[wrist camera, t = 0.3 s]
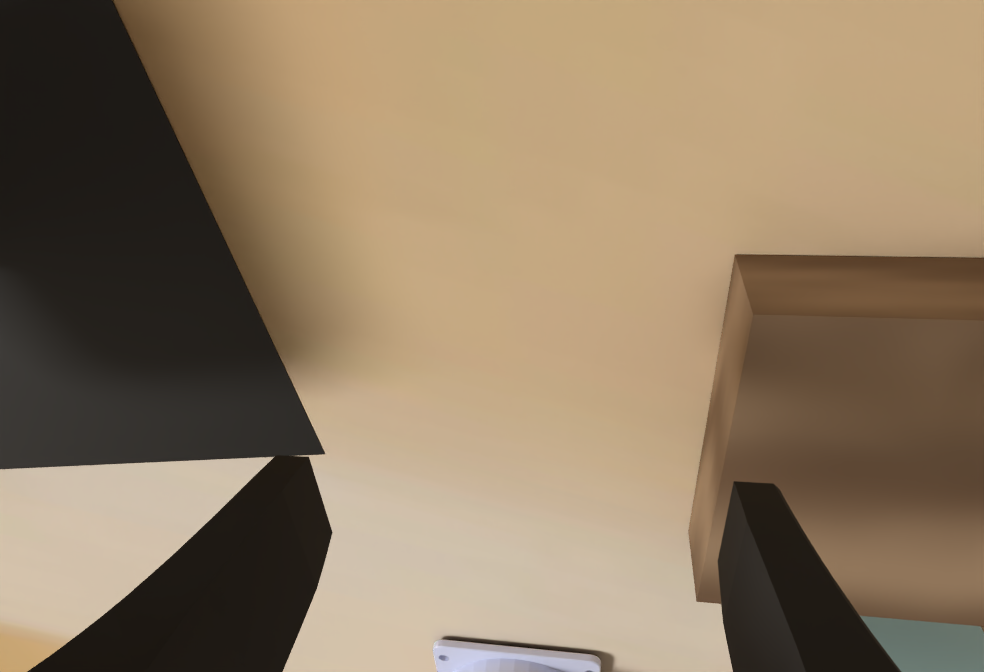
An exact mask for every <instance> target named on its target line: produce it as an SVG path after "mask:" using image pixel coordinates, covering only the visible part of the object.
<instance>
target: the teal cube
mask: <svg viewBox="0 0 984 672" xmlns="http://www.w3.org/2000/svg"><path fill="white" fill-rule="evenodd" d="M860 617H861V618H862V620H863V621H864V623H865V624H866V625H867V627H868V628H869V629H870V631H871V632H872V634H873V635H874V636H875V638H876V639H877V640H878V642H879V643H880V644H881V646H882V647H883V648H884V650H885V651H886V652H887V654H888V655H889V656H890V658H891V659H892V660H893V661H894V663H895V664H896V665H897V667H898V668H899V669H900V671H901V672H984V632H983V630H982V628H981V626H971V625H959V624H948V623H937V622H925V621H914V620H902V619H891V618H879V617H868V616H860Z"/></svg>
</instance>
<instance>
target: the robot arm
mask: <svg viewBox="0 0 984 672" xmlns="http://www.w3.org/2000/svg"><path fill="white" fill-rule="evenodd" d="M331 535H332V530H331V527H330V524H329V520H328V517H327V514H326V511H325V508H324V504H323V501H322V498H321V495H320V492H319V488H318V485H317V482H316V479H315V476H314V472H313V469H312V466H311V463H310V460H309V457H299V456H281V455H276V456H275V457H274V458H273V459H272V460H271V461H270V462H269V463H268V464H267V465H266V466H265V467H264V468H263V469H262V470H260V471H259V472H258V473H257V474H256V475H255V476H254V477H253V478H252V479H251V480H250V481H249V482H248V483H247V484H246V485H245V486H244V487H243V488H242V489H241V490H240V491H239V492H238V493H237V494H236V495H235V496H234V497H233V498H232V499H231V500H230V501H229V502H228V503H227V504H226V505H225V506H224V507H223V508H222V509H221V510H220V511H219V512H218V513H217V514H216V515H215V516H214V517H213V518H212V519H211V520H209V521H208V522H207V523H206V524H205V525H204V526H203V527H202V528H201V529H200V530H199V531H198V532H197V533H196V534H195V535H194V536H193V537H192V538H191V539H189V540H188V541H187V542H186V543H185V544H184V545H183V546H182V547H181V548H180V549H179V550H178V551H177V552H176V553H175V554H174V555H172V556H171V557H170V558H169V559H168V560H167V561H166V562H165V563H164V564H162V565H161V566H160V567H159V568H158V569H157V570H156V571H154V572H153V573H152V574H151V575H150V576H149V577H148V578H147V579H145V580H144V581H143V582H142V583H141V584H140V585H139V586H137V587H136V588H135V589H134V590H133V591H132V592H131V593H130V594H128V595H127V596H126V597H125V598H124V599H122V600H121V601H120V602H119V603H118V604H116V605H115V606H114V607H113V608H112V609H110V610H109V611H108V612H107V613H105V614H104V615H103V616H102V617H100V618H99V619H98V620H97V621H95V622H94V623H93V624H92V625H90V626H89V627H88V628H86V629H85V630H84V631H82V632H81V633H80V634H79V635H77V636H76V637H75V638H73V639H72V640H71V641H69V642H68V643H67V644H66V645H64V646H63V647H62V648H60V649H59V650H57V651H56V652H55V653H53V654H52V655H51V656H49V657H48V658H46V659H45V660H43V661H42V662H41V663H39V664H38V665H36V666H35V667H33V668H32V669H31V670H29V671H28V672H282V671H283V669H284V667H285V664H286V662H287V660H288V657H289V655H290V652H291V650H292V648H293V645H294V643H295V640H296V638H297V636H298V633H299V631H300V628H301V626H302V624H303V621H304V619H305V616H306V614H307V611H308V609H309V606H310V604H311V602H312V599H313V596H314V594H315V591H316V589H317V586H318V583H319V579H320V576H321V572H322V569H323V565H324V562H325V558H326V554H327V551H328V547H329V543H330V539H331ZM718 572H719V583H720V595H721V605H722V615H723V624H724V629H725V634H726V639H727V644H728V649H729V654H730V659H731V664H732V669H733V672H901V671H900V669H899V668H898V667H897V665H896V664H895V663H894V661H893V660H892V659H891V658H890V656H889V655H888V654H887V652H886V651H885V650H884V648H883V647H882V646H881V644H880V643H879V642H878V640H877V639H876V638H875V636H874V635H873V634H872V632H871V631H870V629H869V628H868V627H867V625H866V624H865V623H864V621H863V620H862V618H861V617H860V616H859V614H858V613H857V611H856V610H855V608H854V607H853V605H852V604H851V603H850V601H849V600H848V598H847V597H846V595H845V594H844V592H843V591H842V589H841V588H840V587H839V585H838V584H837V582H836V581H835V579H834V578H833V576H832V575H831V573H830V572H829V570H828V569H827V567H826V566H825V564H824V563H823V561H822V559H821V558H820V556H819V555H818V553H817V552H816V550H815V548H814V547H813V545H812V544H811V542H810V540H809V539H808V537H807V536H806V534H805V532H804V531H803V529H802V527H801V526H800V524H799V522H798V521H797V519H796V517H795V516H794V514H793V512H792V510H791V509H790V507H789V505H788V503H787V502H786V500H785V498H784V496H783V495H782V493H781V491H780V489H779V488H778V487H777V486H776V485H775V484H774V483H756V482H738V481H734V482H733V487H732V492H731V497H730V502H729V507H728V512H727V517H726V522H725V527H724V532H723V537H722V542H721V547H720V552H719V556H718ZM433 654H434V659H435V663H436V668H437V672H601V660H600V659H599V658H598V657H597V656H595V655H591V654H582V653H572V652H562V651H552V650H542V649H532V648H523V647H513V646H503V645H493V644H483V643H473V642H463V641H453V640H437V641H436V642H434V647H433Z"/></svg>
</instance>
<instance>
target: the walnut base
mask: <svg viewBox="0 0 984 672" xmlns="http://www.w3.org/2000/svg"><path fill="white" fill-rule="evenodd" d="M734 481H738V482H756V483H774V484H775V485H776V486H777V487H778V488H779V489H780V491H781V493H782V495H783V496H784V498H785V500H786V502H787V503H788V505H789V507H790V509H791V510H792V512H793V514H794V516H795V517H796V519H797V521H798V522H799V524H800V526H801V527H802V529H803V531H804V532H805V534H806V536H807V537H808V539H809V540H810V542H811V544H812V545H813V547H814V548H815V550H816V552H817V553H818V555H819V556H820V558H821V559H822V561H823V563H824V564H825V566H826V567H827V569H828V570H829V572H830V573H831V575H832V576H833V578H834V579H835V581H836V582H837V584H838V585H839V587H840V588H841V589H842V591H843V592H844V594H845V595H846V597H847V598H848V600H849V601H850V603H851V604H852V605H853V607H854V608H855V610H856V611H857V613H858V614H859V616H868V617H879V618H891V619H902V620H914V621H925V622H937V623H948V624H959V625H971V626H982V627H984V258H928V257H855V256H783V255H735V257H734V263H733V269H732V275H731V281H730V287H729V293H728V299H727V305H726V311H725V317H724V323H723V329H722V335H721V341H720V347H719V352H718V358H717V364H716V370H715V376H714V382H713V388H712V394H711V400H710V406H709V412H708V418H707V424H706V430H705V436H704V442H703V448H702V454H701V460H700V466H699V472H698V478H697V483H696V489H695V495H694V501H693V507H692V513H691V519H690V525H689V540H690V549H691V557H692V566H693V575H694V583H695V592H696V601H697V602H708V603H719V604H721V595H720V583H719V572H718V556H719V552H720V547H721V542H722V537H723V532H724V527H725V522H726V517H727V512H728V507H729V502H730V497H731V492H732V487H733V482H734Z"/></svg>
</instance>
